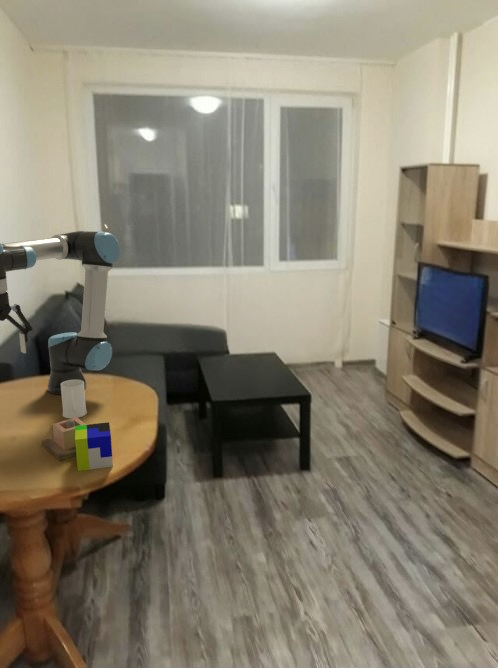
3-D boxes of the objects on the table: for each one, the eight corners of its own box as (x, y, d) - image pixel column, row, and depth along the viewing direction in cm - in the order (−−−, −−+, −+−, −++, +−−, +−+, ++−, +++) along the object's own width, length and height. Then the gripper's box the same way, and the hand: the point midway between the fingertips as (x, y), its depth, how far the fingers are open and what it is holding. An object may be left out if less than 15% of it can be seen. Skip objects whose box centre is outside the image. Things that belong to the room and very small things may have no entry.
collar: (77, 434, 181) (76, 417, 179) (88, 442, 175) (87, 424, 173) (54, 441, 175) (52, 423, 174) (64, 449, 170) (62, 432, 168)
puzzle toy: (112, 466, 163) (110, 435, 160) (77, 471, 160) (75, 439, 158) (111, 451, 172) (109, 422, 170) (77, 455, 169) (75, 425, 167)
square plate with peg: (83, 432, 185) (81, 409, 183) (102, 446, 175) (100, 422, 173) (42, 445, 176) (39, 420, 174) (60, 460, 166) (57, 434, 164)
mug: (84, 421, 194) (82, 389, 191) (59, 423, 193) (56, 391, 190) (88, 408, 206) (85, 378, 203) (64, 410, 204) (61, 379, 201)
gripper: (-45, 298, 163) (-36, 366, 169) (38, 289, 179) (44, 351, 184) (-52, 295, 169) (-43, 361, 174) (30, 286, 185) (36, 346, 190)
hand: (2, 356), depth 179 cm, fingers open, 13 cm apart
